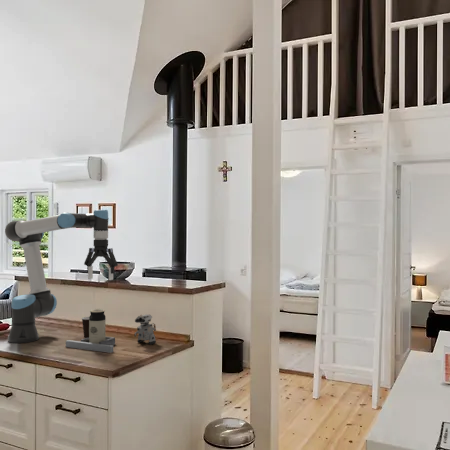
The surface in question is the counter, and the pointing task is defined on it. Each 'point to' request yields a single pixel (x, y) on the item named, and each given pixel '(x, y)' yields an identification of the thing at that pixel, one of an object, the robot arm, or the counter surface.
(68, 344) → the rail
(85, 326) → the coffee mug
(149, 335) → the figurine
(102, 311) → the travel mug
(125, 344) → the counter surface
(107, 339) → the grey square frame
